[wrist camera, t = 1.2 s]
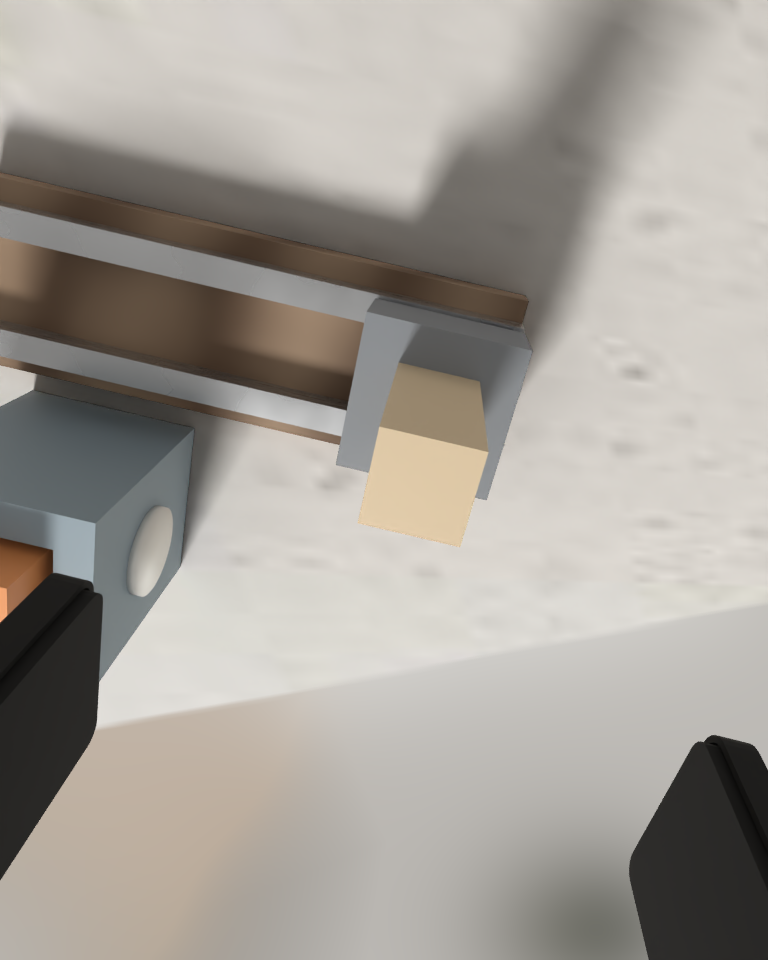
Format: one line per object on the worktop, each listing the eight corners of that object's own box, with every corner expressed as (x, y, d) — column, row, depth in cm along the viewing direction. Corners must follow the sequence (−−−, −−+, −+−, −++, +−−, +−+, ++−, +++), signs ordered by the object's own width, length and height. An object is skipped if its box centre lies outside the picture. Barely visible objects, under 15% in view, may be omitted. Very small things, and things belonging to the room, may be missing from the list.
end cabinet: (202, 430, 33) (106, 526, 24) (187, 568, 36) (98, 699, 27) (32, 390, 33) (-128, 471, 24) (33, 532, 36) (-109, 651, 27)
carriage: (524, 333, 27) (560, 413, 18) (483, 470, 29) (496, 602, 20) (375, 298, 27) (334, 359, 18) (346, 438, 29) (298, 555, 20)
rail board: (525, 295, 29) (531, 306, 27) (475, 464, 32) (477, 488, 30) (-3, 171, 29) (-45, 171, 27) (1, 353, 32) (-36, 367, 30)
